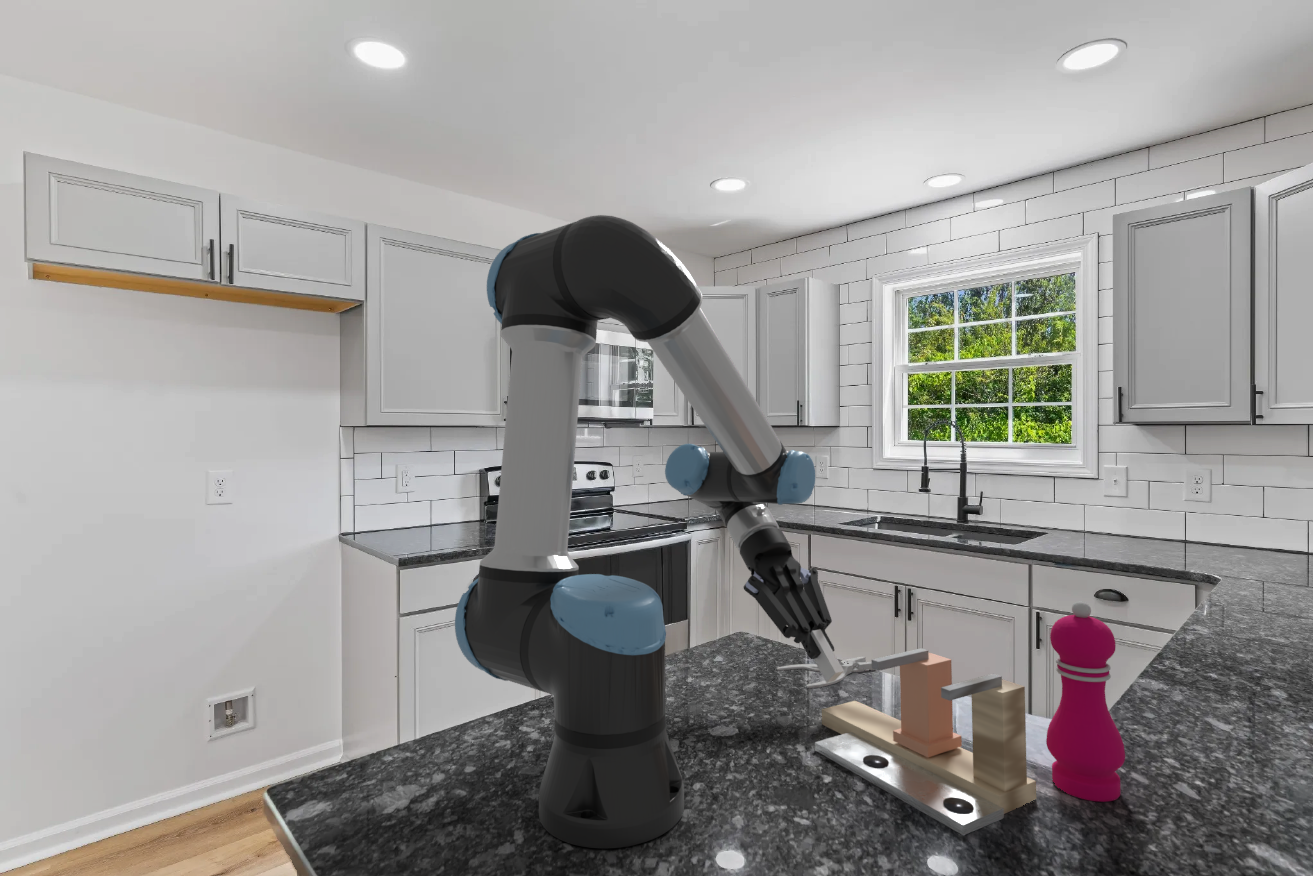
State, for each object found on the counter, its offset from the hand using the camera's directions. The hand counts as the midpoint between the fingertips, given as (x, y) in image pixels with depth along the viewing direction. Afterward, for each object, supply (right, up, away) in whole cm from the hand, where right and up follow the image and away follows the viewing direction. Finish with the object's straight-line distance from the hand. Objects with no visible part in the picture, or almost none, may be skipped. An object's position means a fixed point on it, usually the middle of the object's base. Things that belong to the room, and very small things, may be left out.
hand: (835, 676), depth 94 cm
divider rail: (+4, -5, -13) cm, 15 cm away
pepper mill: (+22, -5, -20) cm, 30 cm away
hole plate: (+3, -6, -17) cm, 18 cm away
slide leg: (+5, -3, -15) cm, 16 cm away
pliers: (+4, -6, +18) cm, 20 cm away
